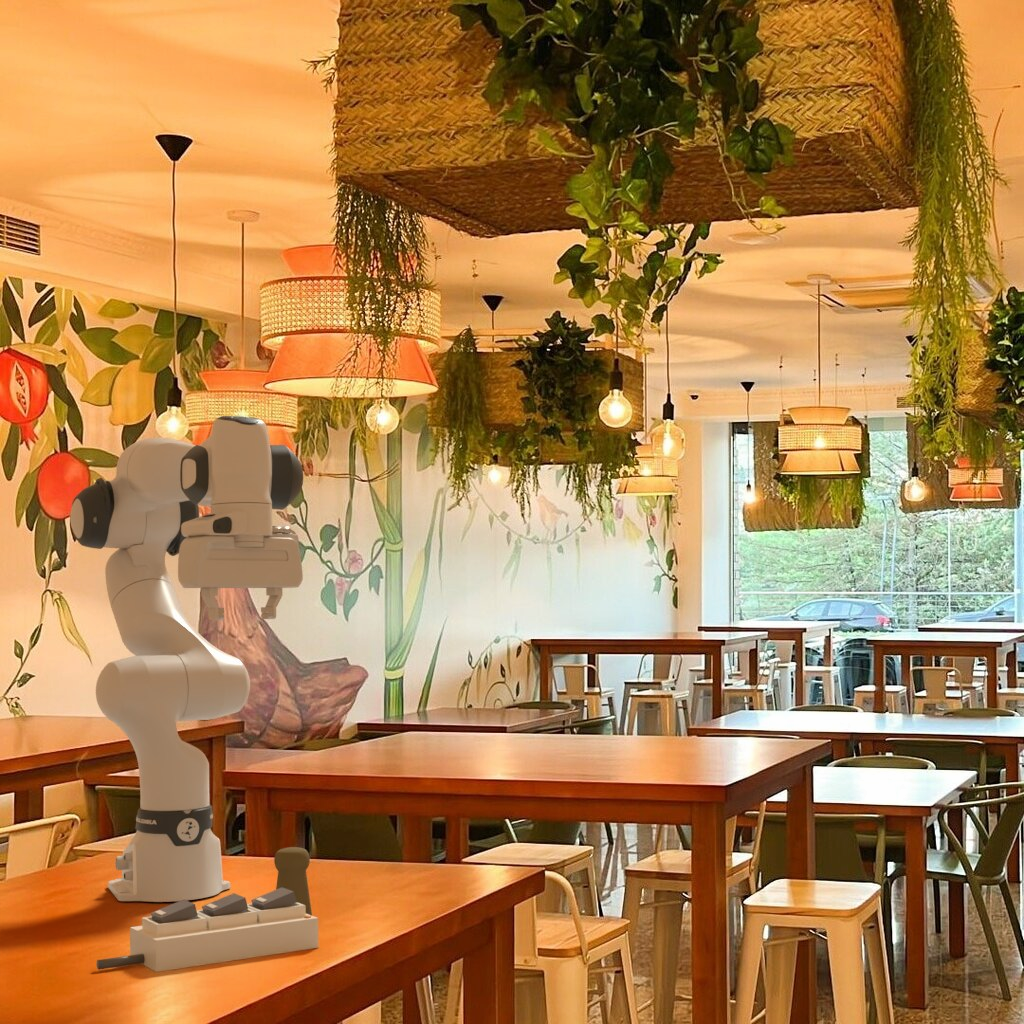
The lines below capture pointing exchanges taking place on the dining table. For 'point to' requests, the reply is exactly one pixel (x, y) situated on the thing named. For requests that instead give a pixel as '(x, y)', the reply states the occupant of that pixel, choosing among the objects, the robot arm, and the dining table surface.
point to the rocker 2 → (226, 906)
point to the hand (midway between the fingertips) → (242, 619)
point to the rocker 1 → (175, 912)
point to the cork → (294, 873)
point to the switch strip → (218, 938)
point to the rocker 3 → (275, 899)
